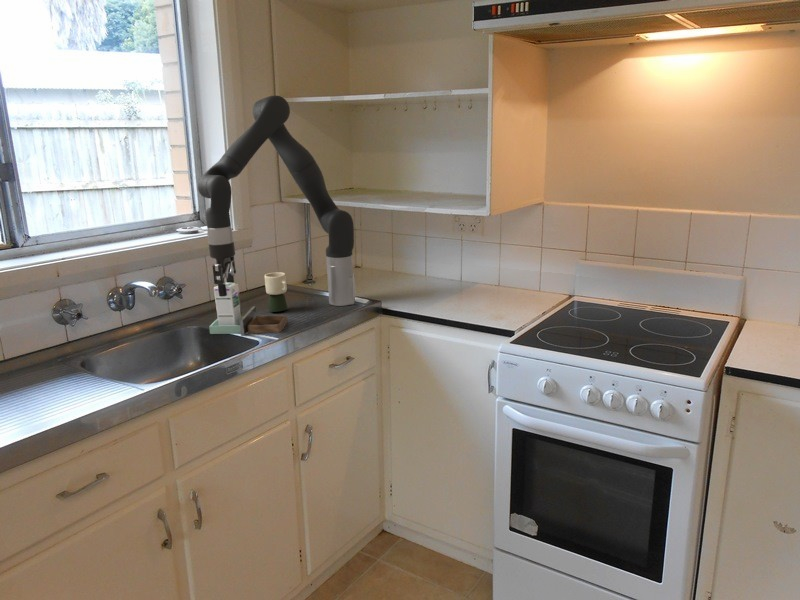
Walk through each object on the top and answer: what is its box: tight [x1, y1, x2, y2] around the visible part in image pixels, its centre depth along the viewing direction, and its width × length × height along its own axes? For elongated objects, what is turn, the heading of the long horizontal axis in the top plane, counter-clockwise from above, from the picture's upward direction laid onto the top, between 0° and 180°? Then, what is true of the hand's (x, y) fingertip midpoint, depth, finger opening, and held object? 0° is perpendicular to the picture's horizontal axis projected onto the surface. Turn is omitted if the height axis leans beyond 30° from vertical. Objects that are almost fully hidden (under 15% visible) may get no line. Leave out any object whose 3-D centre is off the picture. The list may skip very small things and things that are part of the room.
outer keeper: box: [208, 315, 244, 335], centre depth 198 cm, size 10×10×2 cm
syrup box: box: [213, 282, 243, 326], centre depth 197 cm, size 6×6×14 cm
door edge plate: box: [239, 305, 258, 337], centre depth 198 cm, size 1×15×5 cm, turn 177°
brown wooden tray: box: [247, 315, 288, 334], centre depth 198 cm, size 10×10×2 cm
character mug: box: [264, 271, 288, 313], centre depth 214 cm, size 11×7×13 cm, turn 50°
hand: (227, 292), depth 196 cm, fingers open, 8 cm apart
